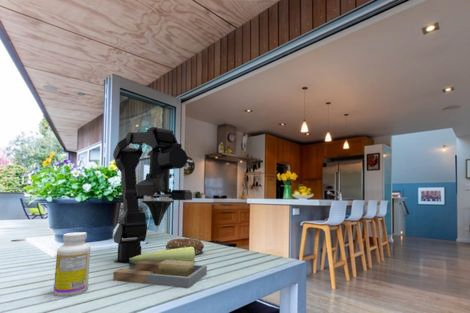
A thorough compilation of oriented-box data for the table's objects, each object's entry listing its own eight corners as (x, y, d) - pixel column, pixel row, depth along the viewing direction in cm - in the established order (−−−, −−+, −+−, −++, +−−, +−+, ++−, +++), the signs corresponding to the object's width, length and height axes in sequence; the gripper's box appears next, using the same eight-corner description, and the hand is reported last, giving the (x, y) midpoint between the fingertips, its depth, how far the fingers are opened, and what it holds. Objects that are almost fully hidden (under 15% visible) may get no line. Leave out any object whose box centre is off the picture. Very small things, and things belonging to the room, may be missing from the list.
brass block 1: (158, 279, 71) (159, 263, 72) (166, 275, 75) (166, 259, 76) (172, 280, 70) (173, 264, 71) (179, 276, 74) (180, 260, 75)
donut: (158, 256, 98) (159, 242, 99) (175, 249, 112) (175, 236, 112) (196, 259, 95) (197, 244, 96) (209, 251, 109) (209, 237, 109)
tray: (146, 285, 68) (147, 274, 68) (170, 271, 79) (170, 262, 79) (188, 289, 65) (188, 278, 65) (206, 274, 76) (206, 265, 77)
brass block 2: (172, 280, 70) (173, 264, 71) (179, 276, 74) (180, 260, 75) (187, 282, 69) (187, 265, 70) (193, 277, 73) (194, 261, 74)
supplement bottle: (63, 287, 65) (67, 231, 67) (92, 287, 66) (96, 231, 68) (46, 298, 59) (52, 235, 60) (79, 297, 59) (84, 235, 61)
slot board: (112, 281, 70) (113, 271, 70) (140, 269, 82) (141, 260, 82) (146, 285, 68) (147, 274, 68) (170, 271, 79) (170, 262, 79)
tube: (193, 241, 91) (129, 247, 85) (195, 251, 87) (128, 258, 80) (192, 255, 93) (129, 262, 87) (194, 266, 88) (128, 274, 82)
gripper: (113, 168, 75) (109, 227, 73) (176, 167, 71) (174, 230, 69) (137, 171, 86) (134, 223, 84) (193, 171, 81) (192, 225, 79)
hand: (157, 225), depth 79 cm, fingers closed
